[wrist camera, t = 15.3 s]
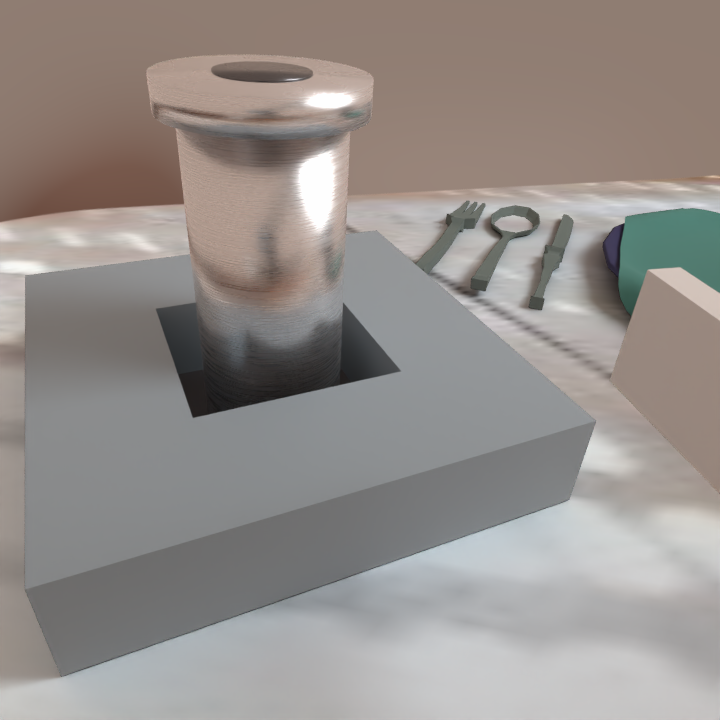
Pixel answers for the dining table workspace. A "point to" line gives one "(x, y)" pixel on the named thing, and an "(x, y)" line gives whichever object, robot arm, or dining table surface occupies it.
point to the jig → (261, 451)
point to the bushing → (264, 213)
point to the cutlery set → (606, 247)
